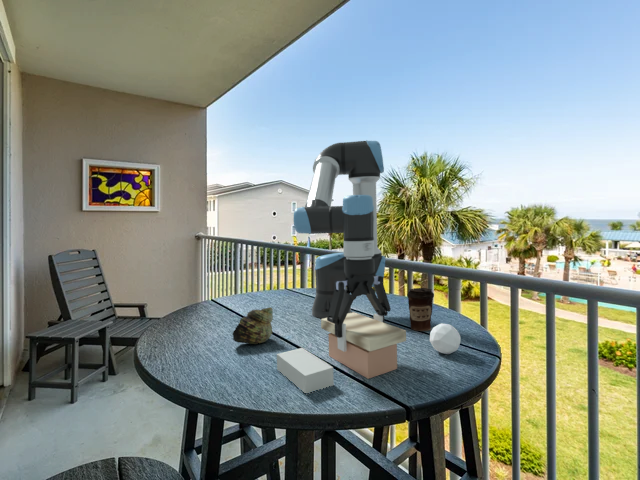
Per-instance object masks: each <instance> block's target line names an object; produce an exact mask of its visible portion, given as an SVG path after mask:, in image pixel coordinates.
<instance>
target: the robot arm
mask: <svg viewBox="0 0 640 480" xmlns="http://www.w3.org/2000/svg"><path fill="white" fill-rule="evenodd" d="M383 158H384V157H383V153H382V146H381V144H380V142H379V141H377V140H367V139H366V140H358V141H357V140H356V141H347V142H346V141H345V142H344V141H343V142H336V143H333V144H331V145H329V146H327V147H326V148H324V149H323V150H322V151H320V153H319V154H318V155H317V156H316V157H315V159H314V161H313V165H312V172H313V176H312V180H311V184H310V187H309V190H308V195H307V197H306V201H305V205H304V206H301V207H297V208H295V209H294V212H293V227H294V230H295V232H296V233H297V234H308V235H314V234H315V235H316V234H317V235H318V234H343V252H335V253H329V254H324V255H323V254H322V255H320V256H317V257H316V258H315V263H314V265H315V266H314V271H315V272H314V273H315V276H314V277H315V297H314V300H313V304H312V307H311V315H312V316H313V317H315V318H319V319H324V318H327V320H328V321H329V322H332V323H334V324H335V336H336V337H337V342H338V349H340V350H342V351H344V352H345V351H347V345H346V324H344V323H343V322H344V320H345V318H346V316H347V314H348V313H352V308H351V307H352V304H353V302H354V301H355V300H356V299H357V297H360V296H362V295H363V296H366V297H367V299H368V301H369V303H370V304H371V306H372V309H373V310H374V311H375V313H374V314H373V319H374V320H377V321H380V322H383V323H385V317H386V316H388V312H390V311H391V310H392V309H391V305H390V301H389V299H388V295H387V292H386V289H385V285H384V279H385V278H384V277H385V271H386V270H385V269H386V256H384V255H382V250H380V248H378V218H377V213H378V212H377V210H378V209H377V182H378V181H379V180H380V179H381V174H383V173H385V172H384V171H385V165H384V159H383ZM343 175H347V176H348V180H349V182H351V184H352V194H350V195H345V196H343V198H342V205H336V206H333V205H332V203H333V201H332V200H333V196H334V191H335V190H334V188H335V182H336V178H337V177H338V176H343Z"/></svg>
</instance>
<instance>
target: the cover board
mask: <svg viewBox="0 0 640 480" xmlns="http://www.w3.org/2000/svg"><path fill="white" fill-rule="evenodd" d="M343 323H344V324H346V340H347V341H349V342H351V343H353V344H355V345H357V346H359V347H361V348H364V349H366V350H368V351H374V350H377V349H381V348H384V347H387V346H391V345H394V344H397V345H398V344H401V343H405V342H406V341H407V329H403V328H400V327H398V326H394V325H393V324H392V325H391V324H388V323H386V322H384V323H383V322H380V321H377V320H374V318H372V317H369V316H365V315H363V314H360V313H358V312H357V313H356V312H355V311H353V312H352V311H351V313H348V314H347V316H346V318H345V320H344V322H343ZM320 325H321V326H320V327H321V328H320V329H323V330H324V331H326V332H328V333H332V334H334V335H335V324H334V323H332V322H329V321H328V320H327V318H320Z"/></svg>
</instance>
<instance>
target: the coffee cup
mask: <svg viewBox="0 0 640 480" xmlns="http://www.w3.org/2000/svg"><path fill="white" fill-rule="evenodd" d="M434 298H435V293H434V292H433V290H432V288H428V287H415V288H410V289H409V291H408V292H407V300H408V301H407V302H408V310H409V321H410V329H411V330H414V331H420V332H426V331H432V323H431V322H432V314H433V302H434V301H433V300H434Z"/></svg>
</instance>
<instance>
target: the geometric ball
mask: <svg viewBox="0 0 640 480" xmlns="http://www.w3.org/2000/svg"><path fill="white" fill-rule="evenodd" d="M429 342H430V344H431V346H432V347H433V349H434V350H435V351H437V352H439V353H440V354H445V355H450V354H452V353H455V352H457V351H458V349H459V347H460V344H461V335H460V332H459V331H458V330H457V329H456V328H455V327H454V326H453V325H452V324H448V323H439V324H437V325H436V326H435V325H434V327H432V328H431V330H430V334H429Z"/></svg>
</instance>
